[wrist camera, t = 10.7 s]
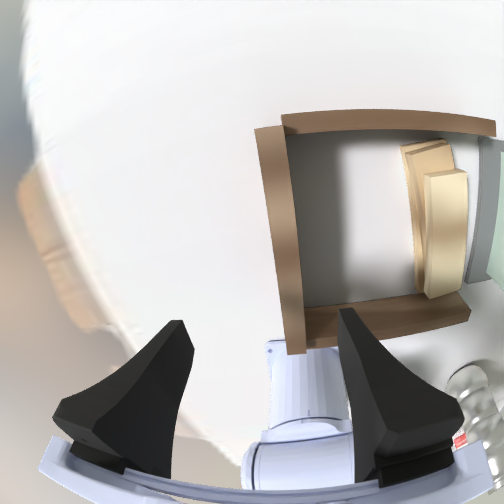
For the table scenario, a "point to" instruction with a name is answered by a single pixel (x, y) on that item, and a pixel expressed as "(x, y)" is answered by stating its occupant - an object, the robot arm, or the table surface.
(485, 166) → the mat
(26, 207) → the table surface
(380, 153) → the table surface
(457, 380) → the plastic bottle
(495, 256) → the pale green block
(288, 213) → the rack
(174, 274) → the table surface
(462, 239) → the offcuts
